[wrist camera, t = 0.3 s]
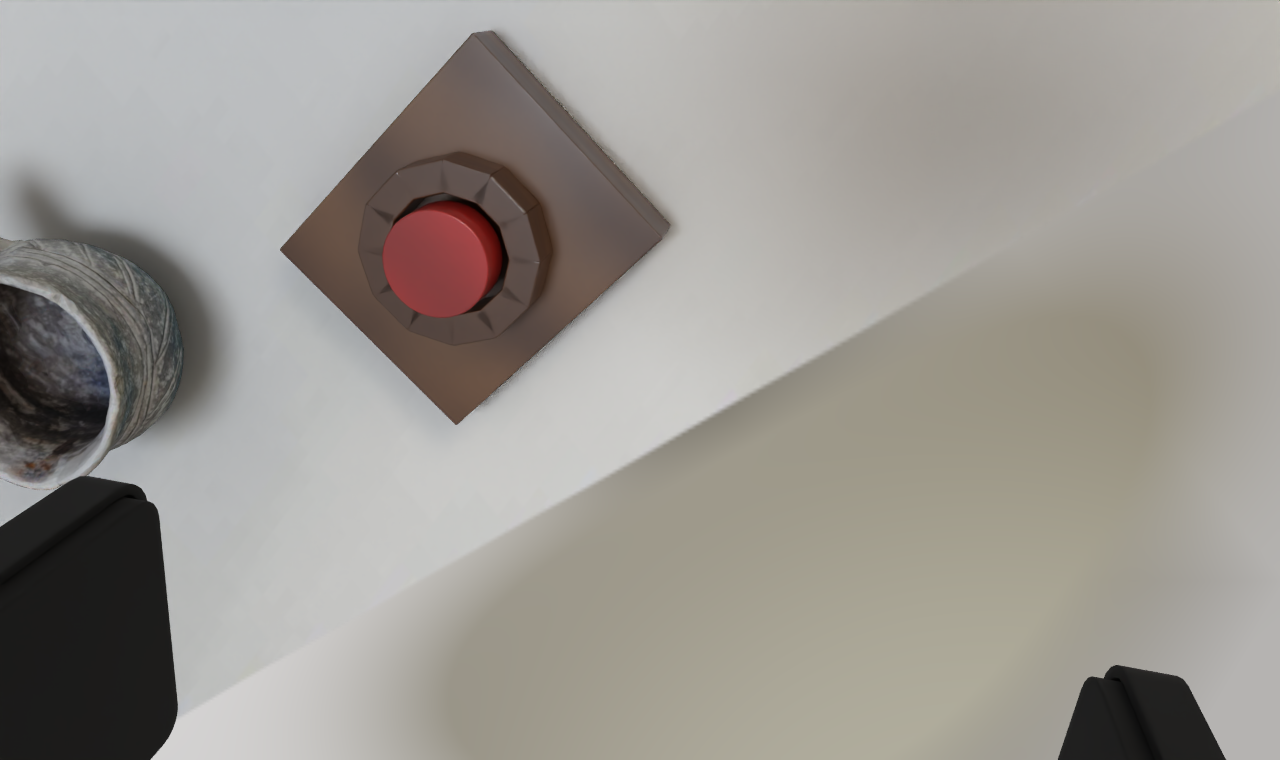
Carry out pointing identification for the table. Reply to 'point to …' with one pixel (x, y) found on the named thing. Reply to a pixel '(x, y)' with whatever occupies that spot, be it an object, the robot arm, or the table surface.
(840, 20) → the table surface
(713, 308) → the table surface
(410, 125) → the control block
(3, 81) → the table surface
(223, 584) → the table surface
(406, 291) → the button
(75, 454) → the mug
